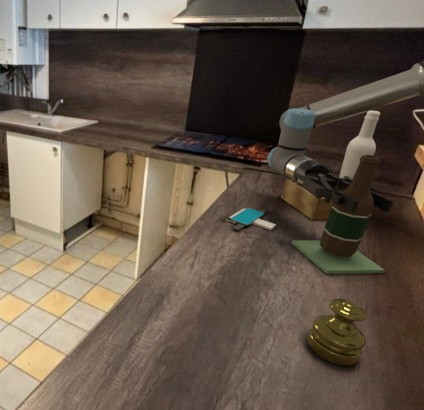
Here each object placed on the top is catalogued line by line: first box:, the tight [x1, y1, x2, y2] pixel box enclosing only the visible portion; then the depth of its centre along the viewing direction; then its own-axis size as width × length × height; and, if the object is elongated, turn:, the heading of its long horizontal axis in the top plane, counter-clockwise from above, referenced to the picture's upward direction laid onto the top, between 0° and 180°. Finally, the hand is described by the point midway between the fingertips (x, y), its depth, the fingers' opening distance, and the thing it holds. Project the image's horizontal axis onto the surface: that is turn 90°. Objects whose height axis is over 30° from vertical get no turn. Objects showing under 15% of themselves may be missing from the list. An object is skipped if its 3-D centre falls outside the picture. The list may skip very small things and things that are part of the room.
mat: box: [291, 239, 385, 275], centre depth 90 cm, size 14×14×1 cm
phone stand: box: [224, 206, 277, 232], centre depth 107 cm, size 20×12×2 cm, turn 134°
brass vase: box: [307, 298, 368, 366], centre depth 60 cm, size 7×7×10 cm
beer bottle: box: [320, 155, 381, 257], centre depth 84 cm, size 8×8×24 cm
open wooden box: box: [280, 178, 342, 220], centre depth 117 cm, size 17×17×7 cm
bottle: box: [338, 110, 381, 179], centre depth 123 cm, size 8×8×30 cm
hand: (372, 206), depth 79 cm, fingers closed on beer bottle, 7 cm apart
